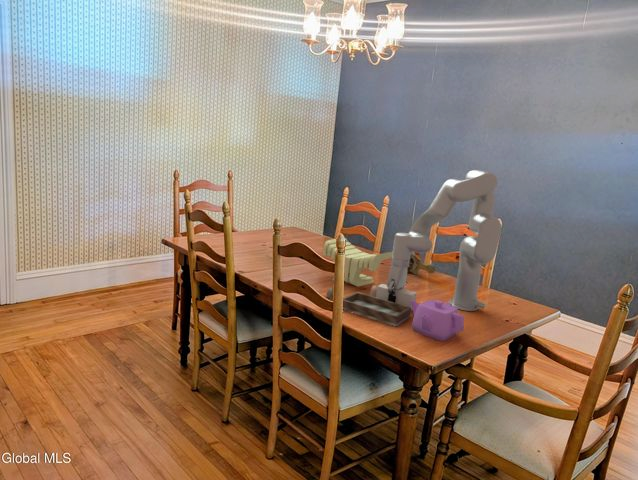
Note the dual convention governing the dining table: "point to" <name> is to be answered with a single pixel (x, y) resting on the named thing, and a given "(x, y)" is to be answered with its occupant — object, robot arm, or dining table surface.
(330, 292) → the chocolate bunny
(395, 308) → the wooden tray
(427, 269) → the toy helicopter
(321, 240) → the dining table surface
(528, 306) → the dining table surface
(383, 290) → the pale grey block
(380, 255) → the slatted curved stool
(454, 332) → the teakettle
